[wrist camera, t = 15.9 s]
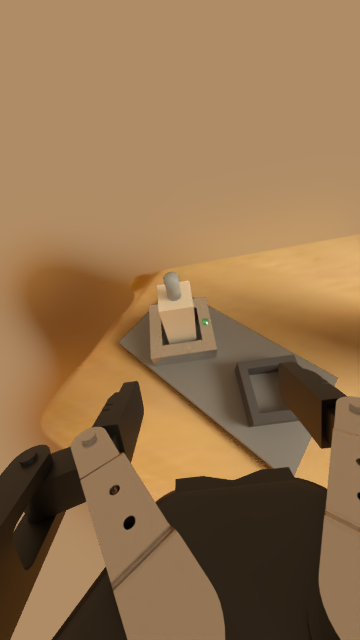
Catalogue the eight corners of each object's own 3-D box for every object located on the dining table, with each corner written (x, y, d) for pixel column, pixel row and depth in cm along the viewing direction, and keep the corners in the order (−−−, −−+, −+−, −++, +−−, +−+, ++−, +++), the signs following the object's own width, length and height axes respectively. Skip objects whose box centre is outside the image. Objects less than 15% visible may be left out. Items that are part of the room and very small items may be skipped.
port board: (175, 291, 40) (174, 286, 39) (332, 381, 29) (337, 377, 27) (121, 346, 35) (118, 342, 34) (286, 480, 24) (291, 482, 22)
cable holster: (234, 370, 29) (237, 362, 27) (286, 362, 29) (294, 354, 27) (249, 427, 25) (253, 424, 23) (309, 419, 25) (320, 415, 23)
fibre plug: (168, 326, 34) (151, 267, 23) (193, 322, 34) (187, 261, 23) (170, 348, 32) (152, 295, 21) (196, 344, 32) (192, 289, 21)
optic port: (153, 315, 36) (148, 304, 33) (205, 308, 35) (205, 296, 33) (155, 366, 31) (150, 358, 28) (216, 357, 31) (217, 348, 28)
